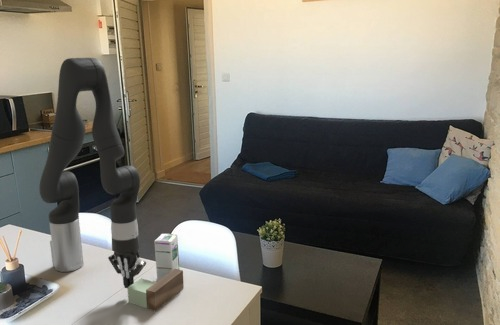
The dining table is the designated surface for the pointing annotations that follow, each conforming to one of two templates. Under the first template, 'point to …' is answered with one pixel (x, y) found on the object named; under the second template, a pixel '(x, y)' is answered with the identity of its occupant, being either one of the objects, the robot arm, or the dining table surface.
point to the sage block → (139, 292)
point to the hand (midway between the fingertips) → (128, 287)
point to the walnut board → (164, 289)
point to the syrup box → (166, 254)
